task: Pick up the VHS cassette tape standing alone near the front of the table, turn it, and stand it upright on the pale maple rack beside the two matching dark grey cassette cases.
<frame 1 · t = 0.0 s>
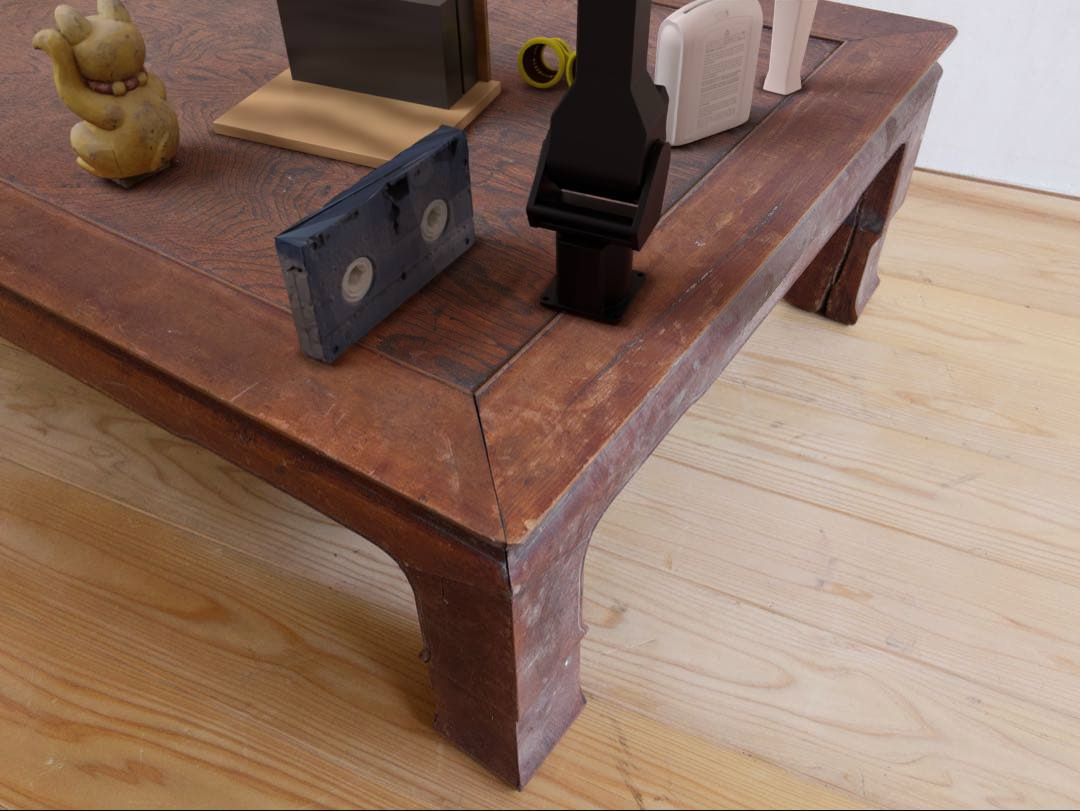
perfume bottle: (781, 87, 100), on the table
vhs cassette tape: (395, 297, 75), on the table
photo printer: (699, 131, 93), on the table
decorative figurine: (143, 170, 90), on the table
yellow hollow cylinder: (570, 87, 101), on the table
tape rack: (362, 112, 97), on the table
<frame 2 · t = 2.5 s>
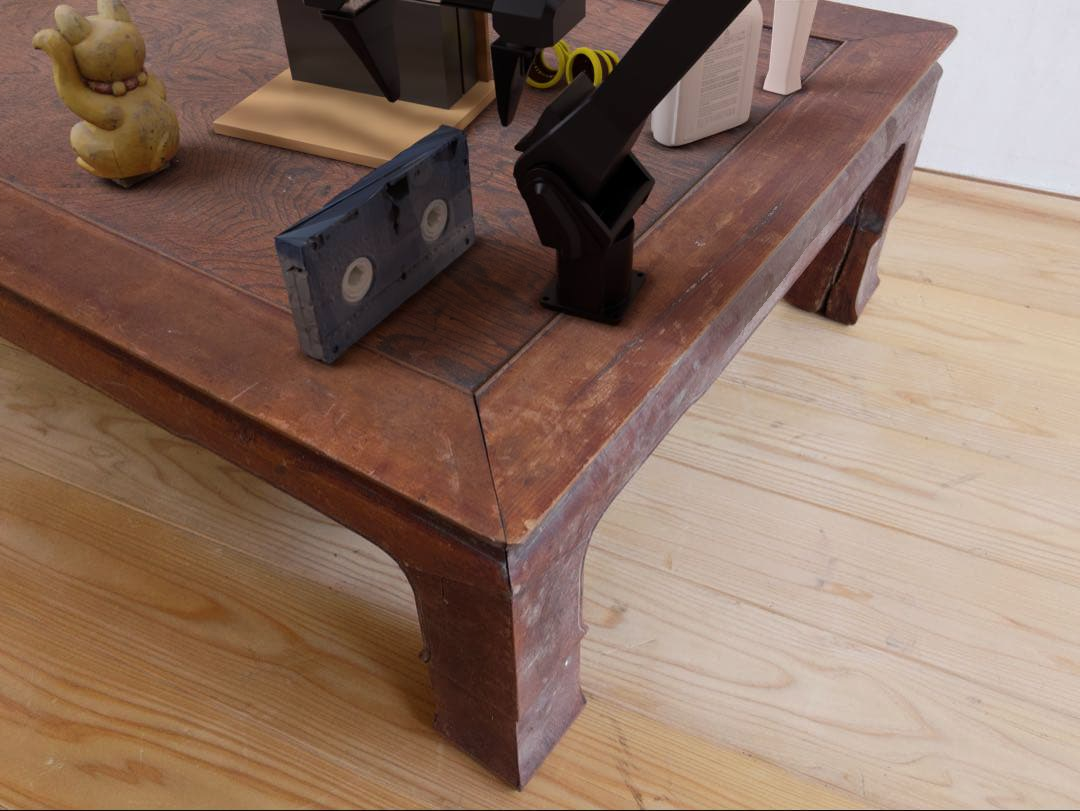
hand: (449, 112, 70), 13 cm above the table, tool pointing down, fingers open, 9 cm apart
nothing on the table moved.
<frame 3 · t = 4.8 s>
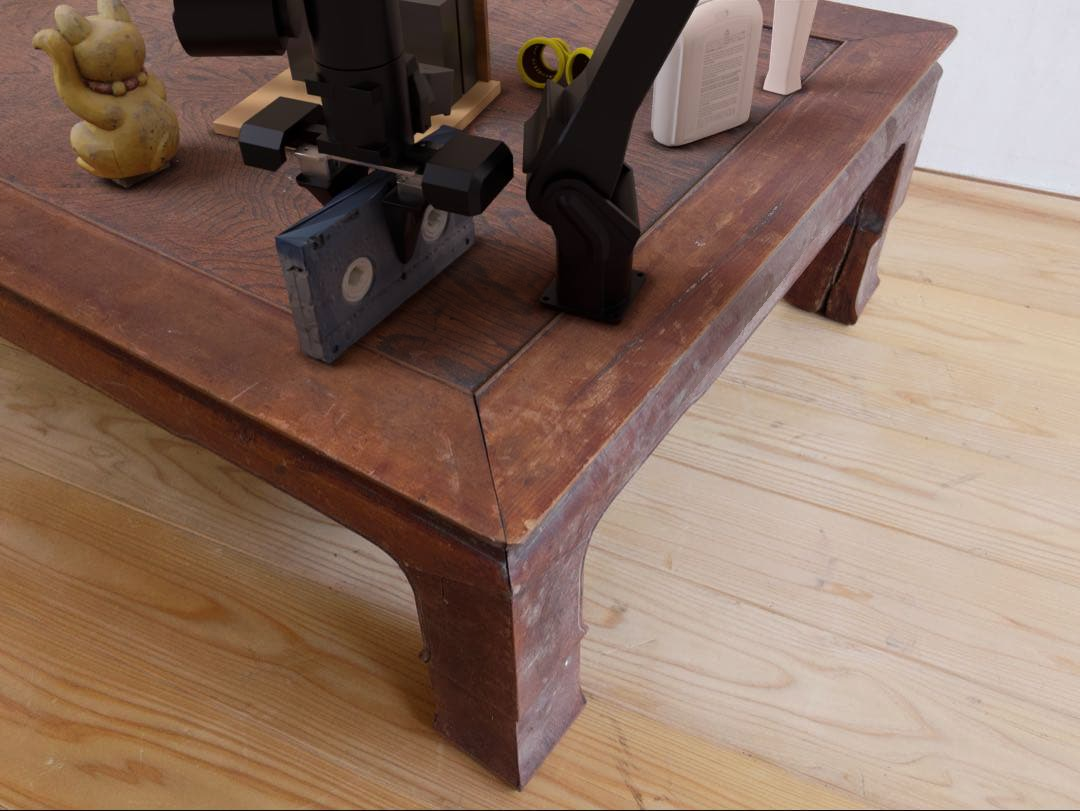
hand: (389, 256, 73), 4 cm above the table, tool pointing down, fingers closed on vhs cassette tape, 3 cm apart
vhs cassette tape: (394, 296, 75), on the table, touching gripper
everything else where it was.
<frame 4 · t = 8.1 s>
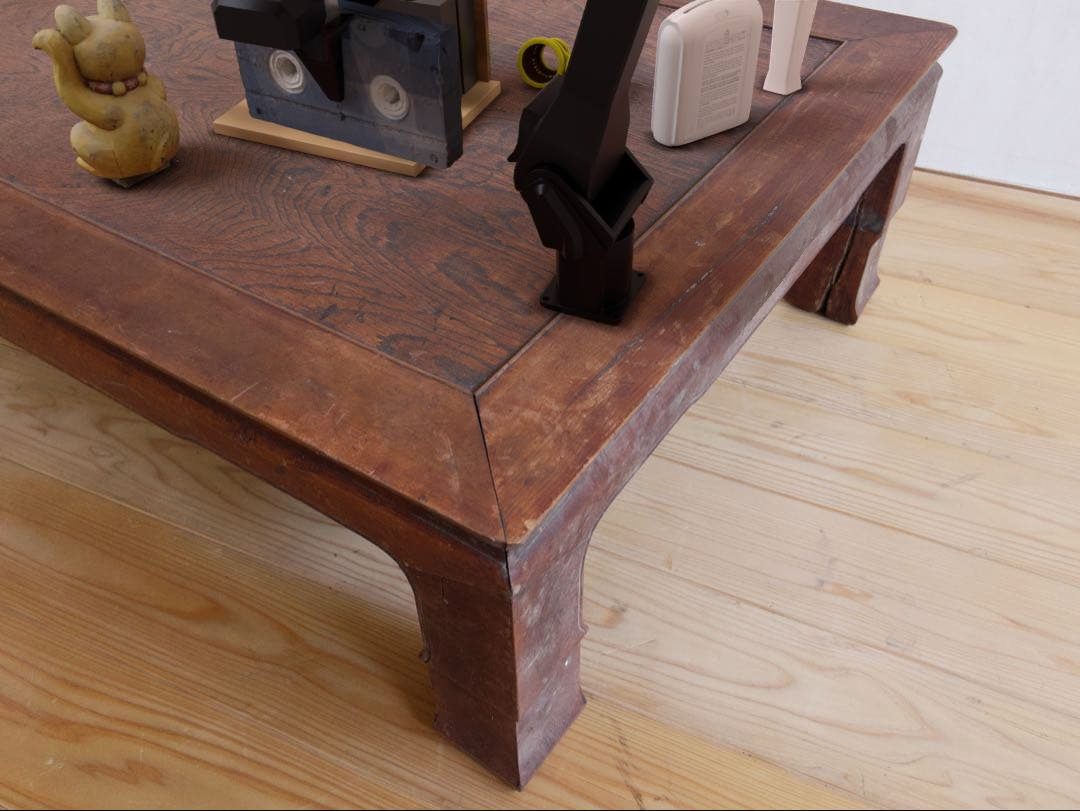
hand: (346, 92, 72), 13 cm above the table, tool pointing down, fingers closed on vhs cassette tape, 3 cm apart
vhs cassette tape: (354, 138, 75), point 9 cm above the table, touching gripper
everything else where it was.
when the fingers open (5 cm above the table, at t = 11.4 s): vhs cassette tape stays where it is, resting on tape rack.
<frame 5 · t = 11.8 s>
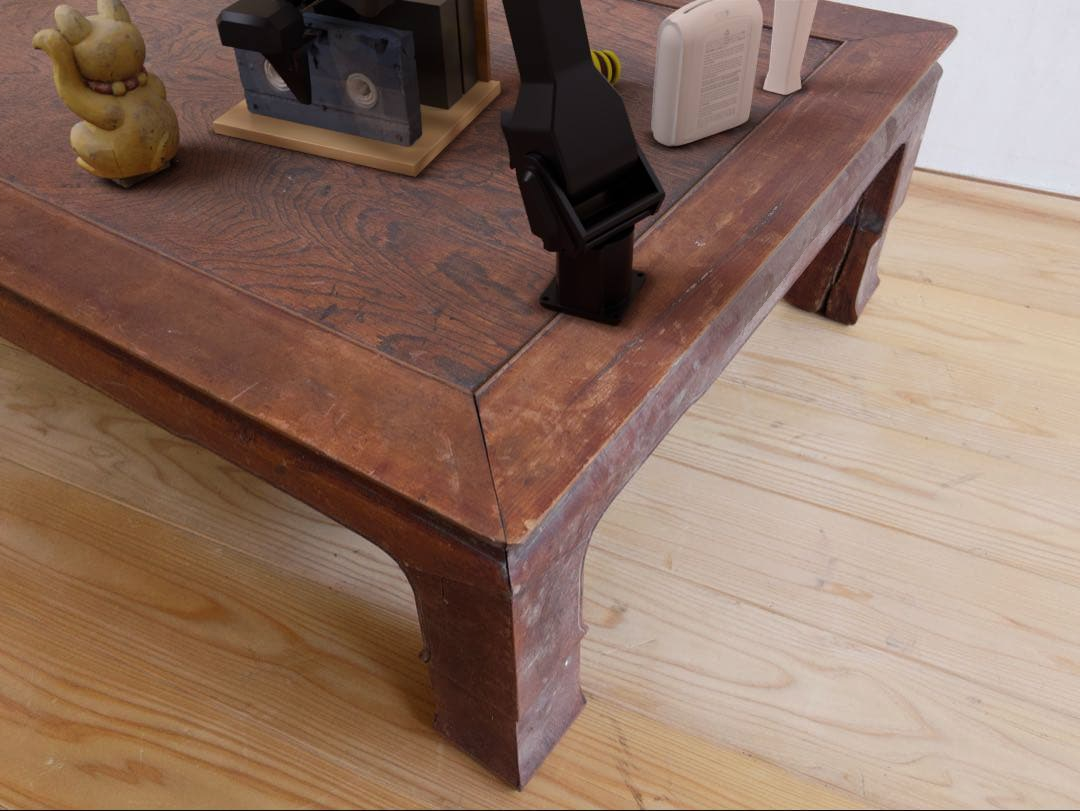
hand: (325, 88, 90), 5 cm above the table, tool pointing down, fingers open, 6 cm apart
vhs cassette tape: (334, 125, 93), point 1 cm above the table, touching tape rack
everything else where it was.
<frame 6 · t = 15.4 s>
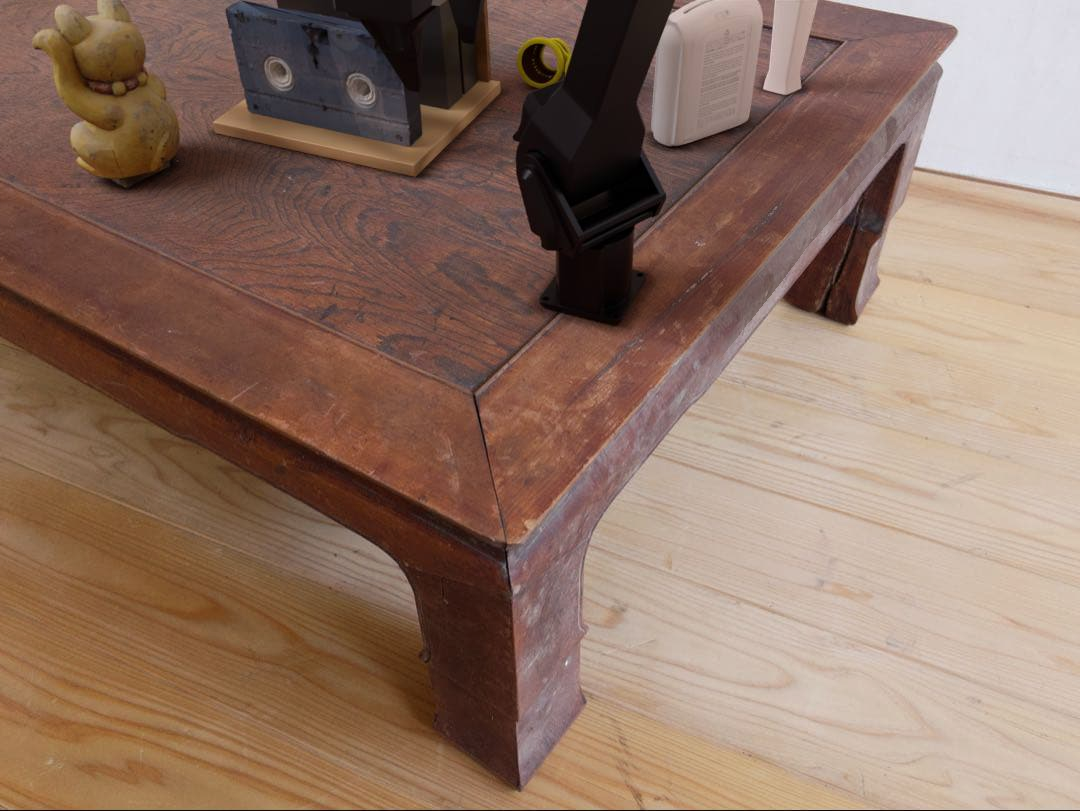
hand: (442, 65, 77), 12 cm above the table, tool pointing down, fingers open, 9 cm apart
nothing on the table moved.
at the end: vhs cassette tape 0.2 cm from the target spot on the tape rack, point 1.0 cm above the tape rack's base; vhs cassette tape tilted 0° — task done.
